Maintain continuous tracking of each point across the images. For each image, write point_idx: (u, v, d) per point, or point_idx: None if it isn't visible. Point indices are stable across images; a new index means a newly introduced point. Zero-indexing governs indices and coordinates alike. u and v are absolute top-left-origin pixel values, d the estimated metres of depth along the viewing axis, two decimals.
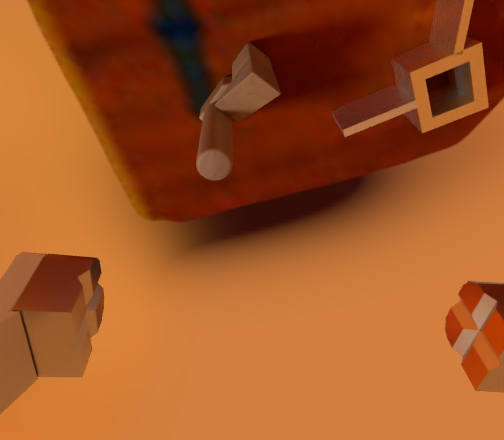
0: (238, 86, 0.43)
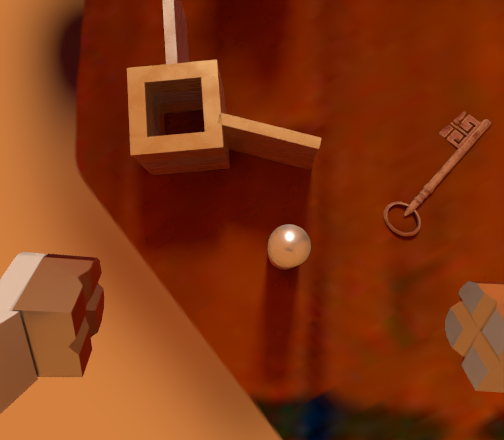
0: None
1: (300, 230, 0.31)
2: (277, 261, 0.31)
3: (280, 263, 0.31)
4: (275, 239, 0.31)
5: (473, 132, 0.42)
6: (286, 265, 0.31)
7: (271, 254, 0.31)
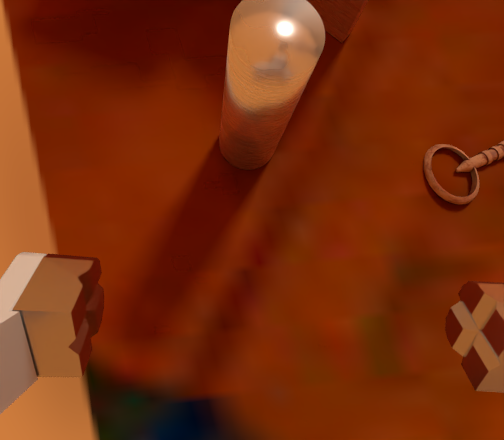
0: None
1: (313, 15, 0.14)
2: (239, 49, 0.14)
3: (243, 56, 0.13)
4: (255, 7, 0.14)
5: None
6: (254, 65, 0.13)
7: (232, 31, 0.14)
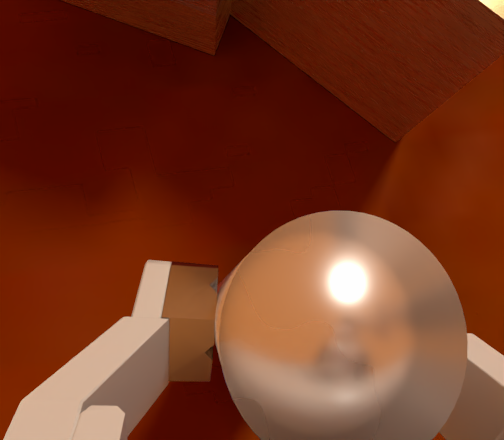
0: None
1: (435, 278, 0.05)
2: (244, 402, 0.05)
3: (256, 421, 0.05)
4: (287, 268, 0.05)
5: None
6: None
7: (227, 345, 0.05)
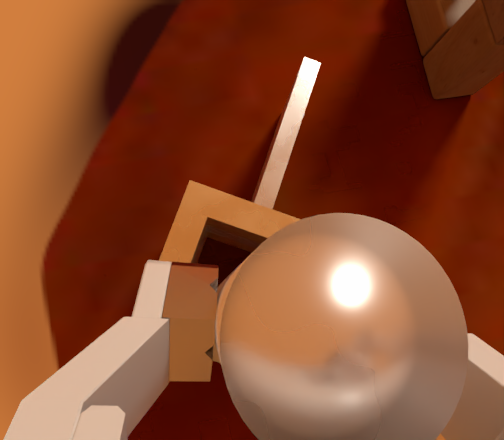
0: None
1: (436, 281, 0.05)
2: (245, 405, 0.05)
3: (257, 424, 0.05)
4: (288, 270, 0.05)
5: None
6: None
7: (228, 347, 0.05)
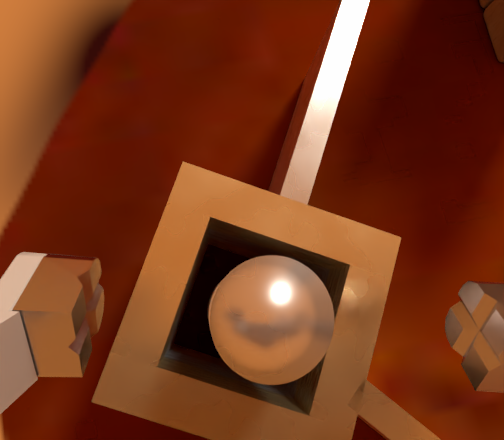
0: None
1: (319, 289, 0.11)
2: (221, 349, 0.10)
3: (227, 358, 0.10)
4: (243, 284, 0.11)
5: None
6: (241, 372, 0.10)
7: (213, 322, 0.10)
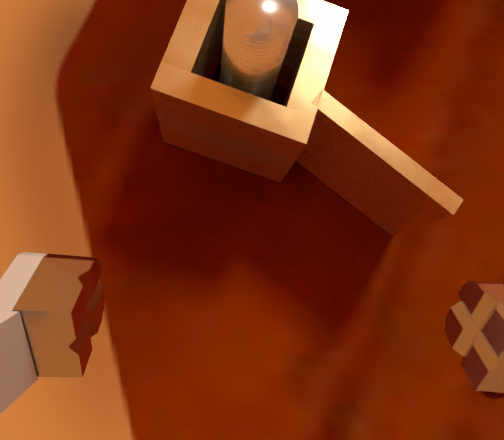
0: None
1: None
2: (232, 20, 0.18)
3: (236, 25, 0.18)
4: None
5: None
6: (244, 32, 0.18)
7: (228, 6, 0.18)
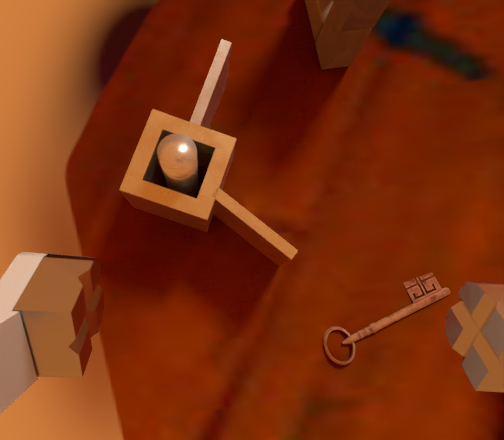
0: None
1: (192, 144, 0.34)
2: (160, 160, 0.34)
3: (162, 162, 0.34)
4: (168, 141, 0.34)
5: (432, 294, 0.44)
6: (166, 166, 0.34)
7: (158, 152, 0.34)
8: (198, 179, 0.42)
